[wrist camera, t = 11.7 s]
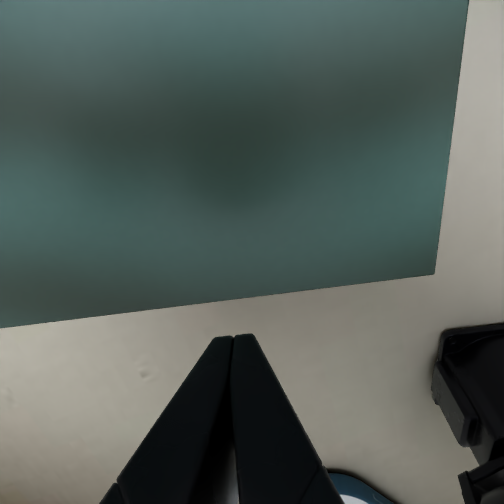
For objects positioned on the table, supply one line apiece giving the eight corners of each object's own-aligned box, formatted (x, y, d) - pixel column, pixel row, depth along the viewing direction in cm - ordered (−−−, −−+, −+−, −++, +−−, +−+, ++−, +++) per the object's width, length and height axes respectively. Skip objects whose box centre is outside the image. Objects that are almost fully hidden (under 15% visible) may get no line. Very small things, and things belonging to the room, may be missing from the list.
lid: (-310, -189, 7) (-369, -211, 7) (492, -366, 6) (522, -414, 6) (5, 314, 14) (-8, 329, 13) (425, 261, 13) (435, 275, 12)
